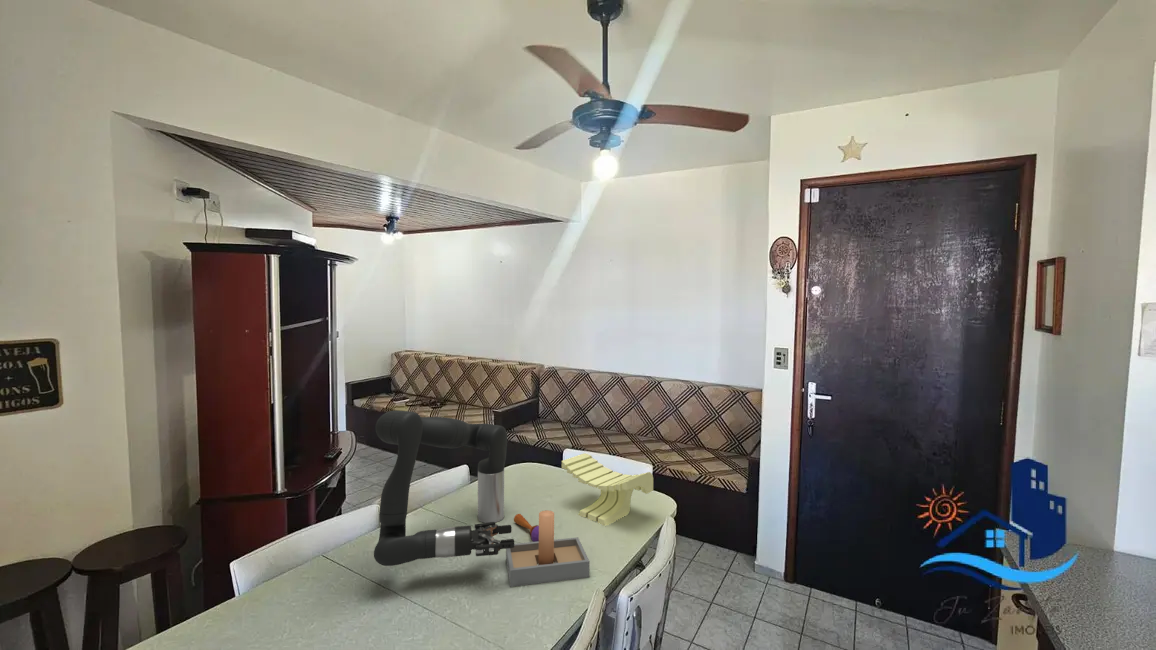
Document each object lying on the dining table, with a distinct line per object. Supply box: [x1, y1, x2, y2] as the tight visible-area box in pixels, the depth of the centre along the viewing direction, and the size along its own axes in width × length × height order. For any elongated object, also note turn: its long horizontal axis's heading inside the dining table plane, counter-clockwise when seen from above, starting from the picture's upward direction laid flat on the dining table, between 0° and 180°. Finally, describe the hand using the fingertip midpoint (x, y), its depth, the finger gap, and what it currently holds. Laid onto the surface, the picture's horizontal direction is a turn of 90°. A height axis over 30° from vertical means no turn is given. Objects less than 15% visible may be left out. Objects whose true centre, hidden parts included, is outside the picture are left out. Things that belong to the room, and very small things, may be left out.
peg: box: [537, 510, 555, 565], centre depth 136 cm, size 4×4×16 cm
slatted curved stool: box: [561, 452, 654, 527], centre depth 173 cm, size 30×16×18 cm, turn 48°
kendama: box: [513, 513, 539, 542], centre depth 157 cm, size 6×6×20 cm
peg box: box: [505, 537, 590, 588], centre depth 137 cm, size 14×22×4 cm, turn 103°
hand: (512, 535), depth 134 cm, fingers open, 8 cm apart
